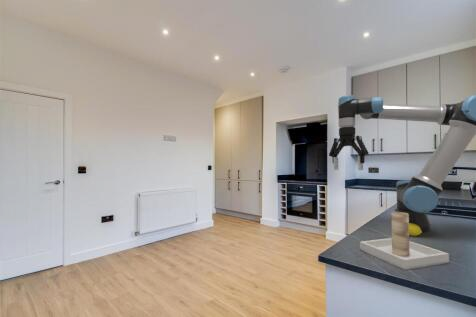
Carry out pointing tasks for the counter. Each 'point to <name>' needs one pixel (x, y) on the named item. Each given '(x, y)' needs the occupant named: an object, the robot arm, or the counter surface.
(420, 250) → the tray
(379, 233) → the counter surface
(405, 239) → the dowel
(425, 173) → the robot arm
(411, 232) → the lemon
